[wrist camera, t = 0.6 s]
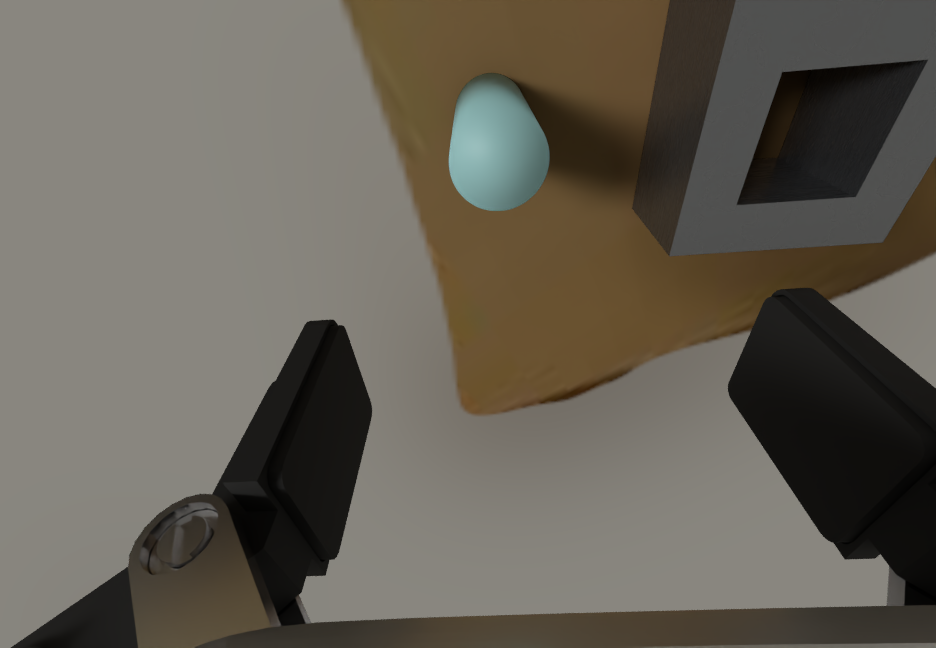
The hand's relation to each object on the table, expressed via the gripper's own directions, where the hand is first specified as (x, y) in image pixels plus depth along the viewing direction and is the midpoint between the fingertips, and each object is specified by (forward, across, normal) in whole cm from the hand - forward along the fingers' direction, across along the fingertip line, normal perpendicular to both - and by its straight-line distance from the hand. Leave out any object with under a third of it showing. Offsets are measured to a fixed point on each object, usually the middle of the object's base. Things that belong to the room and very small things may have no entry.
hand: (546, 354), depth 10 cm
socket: (+21, -16, 0) cm, 26 cm away
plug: (+21, 0, -1) cm, 21 cm away
